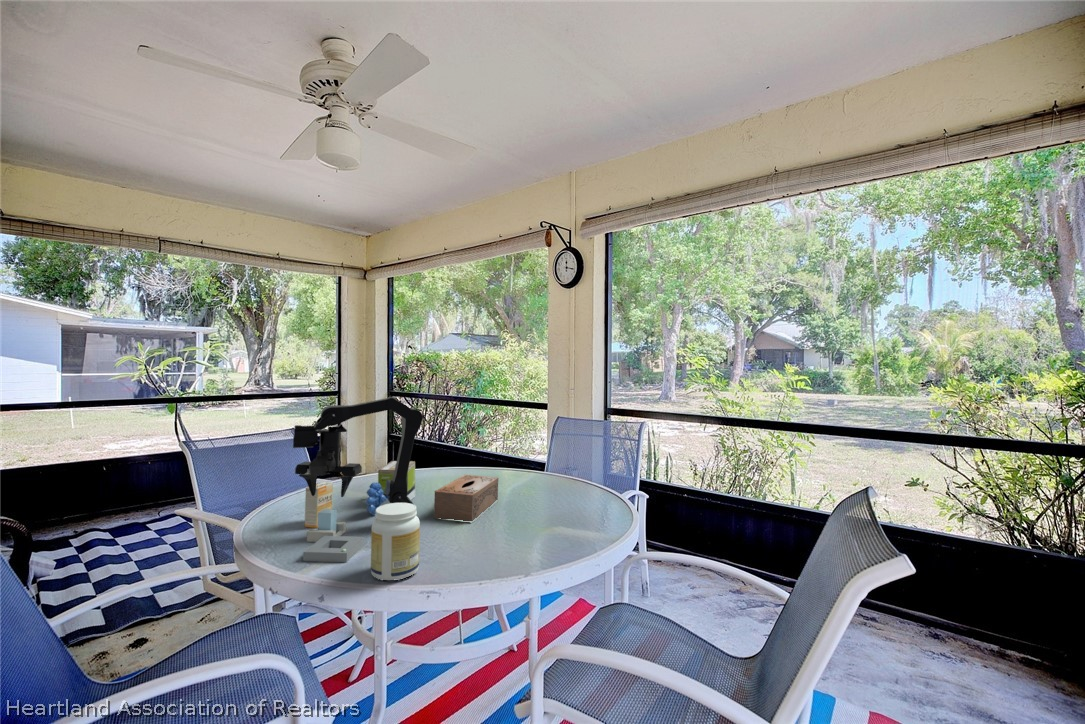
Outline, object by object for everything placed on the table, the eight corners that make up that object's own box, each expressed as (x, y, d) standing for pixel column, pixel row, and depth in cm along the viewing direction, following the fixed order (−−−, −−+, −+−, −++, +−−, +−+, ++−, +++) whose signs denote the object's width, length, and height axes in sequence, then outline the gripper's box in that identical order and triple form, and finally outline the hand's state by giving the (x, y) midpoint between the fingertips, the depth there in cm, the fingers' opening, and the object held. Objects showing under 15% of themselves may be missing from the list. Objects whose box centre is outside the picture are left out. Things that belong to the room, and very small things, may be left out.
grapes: (380, 521, 162) (381, 486, 162) (360, 520, 163) (361, 485, 163) (392, 510, 174) (392, 478, 174) (373, 509, 174) (374, 477, 174)
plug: (336, 534, 149) (336, 509, 149) (330, 539, 145) (330, 513, 145) (323, 534, 150) (324, 508, 150) (317, 538, 146) (318, 512, 146)
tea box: (391, 496, 192) (392, 460, 192) (415, 497, 192) (416, 460, 192) (376, 507, 177) (377, 468, 177) (403, 508, 177) (404, 469, 177)
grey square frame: (345, 531, 152) (346, 522, 152) (332, 542, 143) (333, 532, 143) (321, 530, 152) (321, 521, 152) (306, 541, 143) (307, 531, 143)
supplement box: (316, 528, 154) (317, 488, 154) (304, 527, 155) (304, 487, 155) (333, 520, 162) (333, 482, 162) (320, 519, 163) (321, 481, 163)
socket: (363, 545, 141) (364, 535, 141) (346, 562, 129) (346, 551, 129) (324, 544, 141) (324, 534, 141) (303, 560, 129) (303, 550, 129)
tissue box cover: (472, 524, 163) (472, 495, 163) (434, 519, 166) (434, 491, 166) (497, 502, 188) (498, 477, 188) (464, 499, 191) (464, 474, 191)
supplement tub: (425, 563, 130) (426, 502, 130) (409, 584, 118) (411, 516, 118) (381, 561, 130) (383, 500, 130) (362, 581, 118) (363, 514, 118)
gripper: (285, 450, 140) (283, 502, 140) (348, 452, 139) (346, 505, 139) (305, 443, 151) (303, 492, 151) (363, 445, 150) (361, 494, 150)
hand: (327, 496), depth 148 cm, fingers open, 9 cm apart
